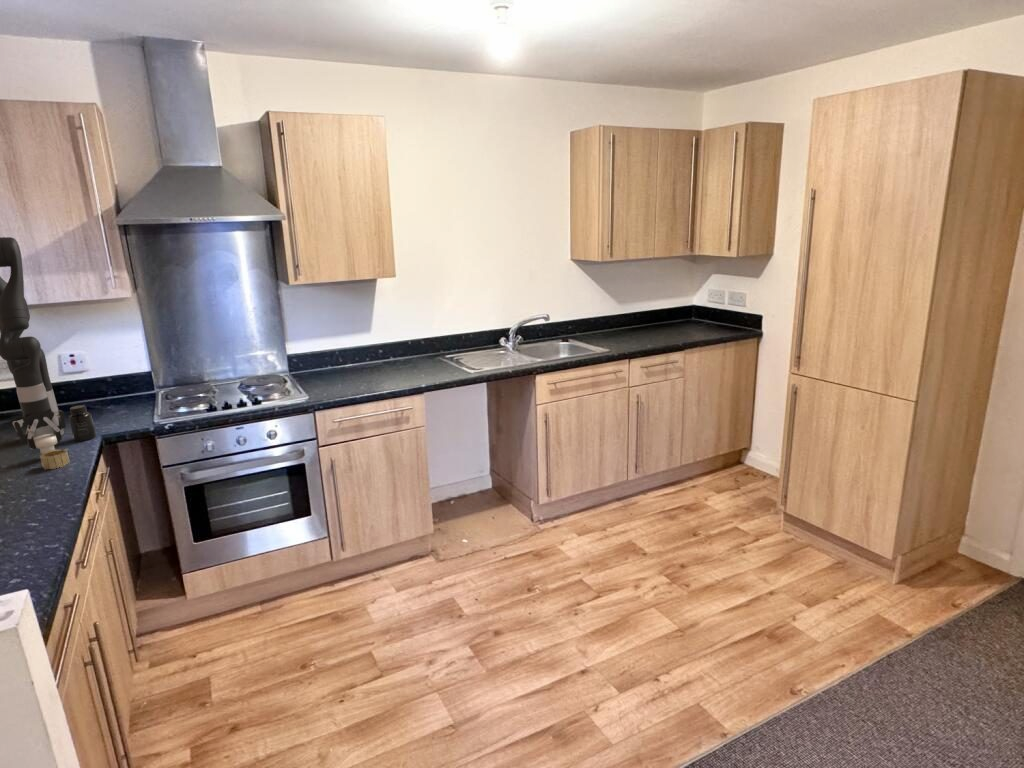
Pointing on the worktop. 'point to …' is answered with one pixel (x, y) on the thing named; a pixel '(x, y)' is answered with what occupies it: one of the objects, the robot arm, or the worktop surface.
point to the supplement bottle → (81, 423)
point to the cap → (45, 442)
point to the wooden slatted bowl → (54, 459)
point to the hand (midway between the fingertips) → (46, 445)
